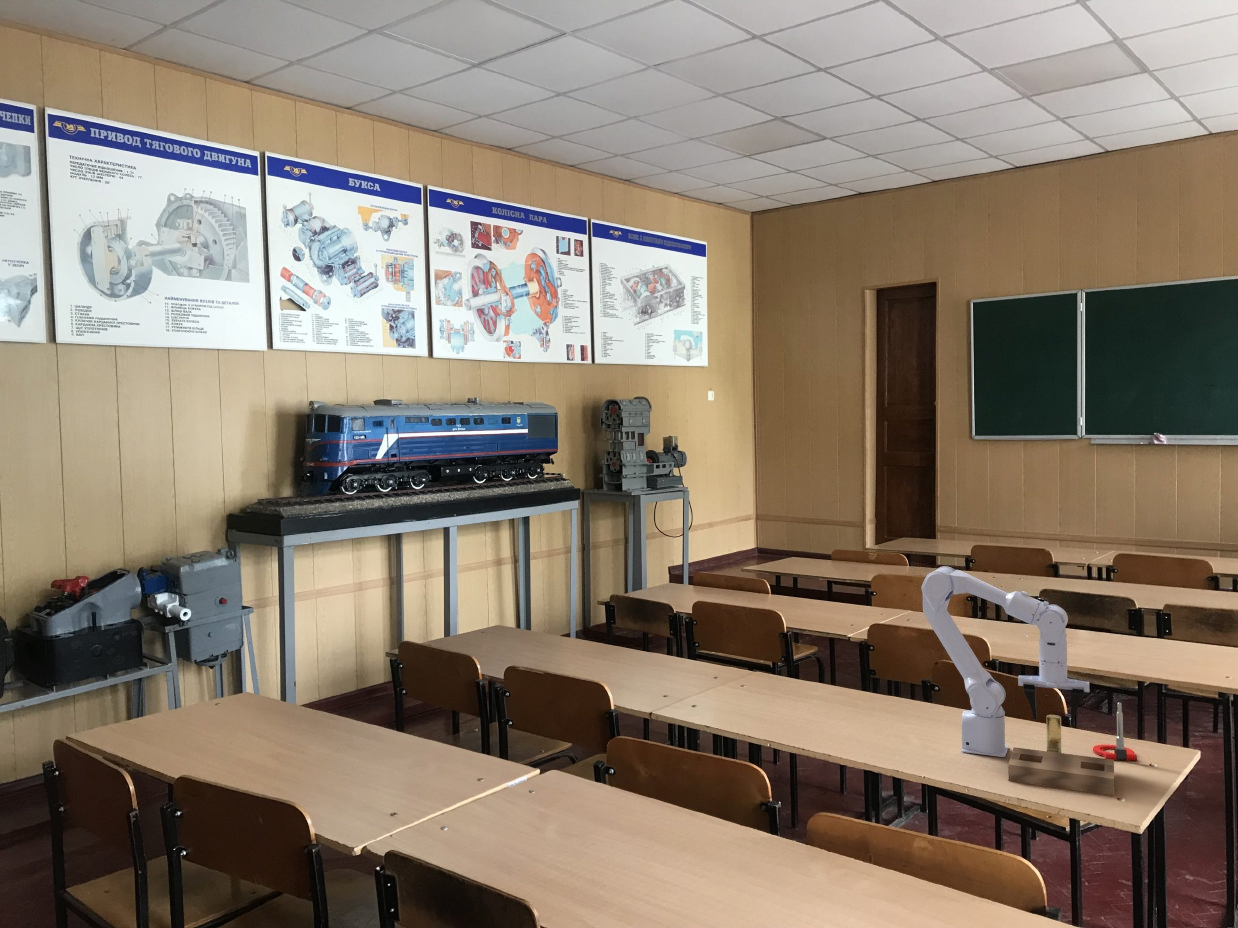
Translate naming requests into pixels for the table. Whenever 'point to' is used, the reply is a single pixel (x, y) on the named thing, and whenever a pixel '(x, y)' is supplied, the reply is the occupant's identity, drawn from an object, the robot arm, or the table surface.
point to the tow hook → (1117, 744)
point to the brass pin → (1053, 733)
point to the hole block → (1062, 770)
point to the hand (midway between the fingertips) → (1053, 719)
